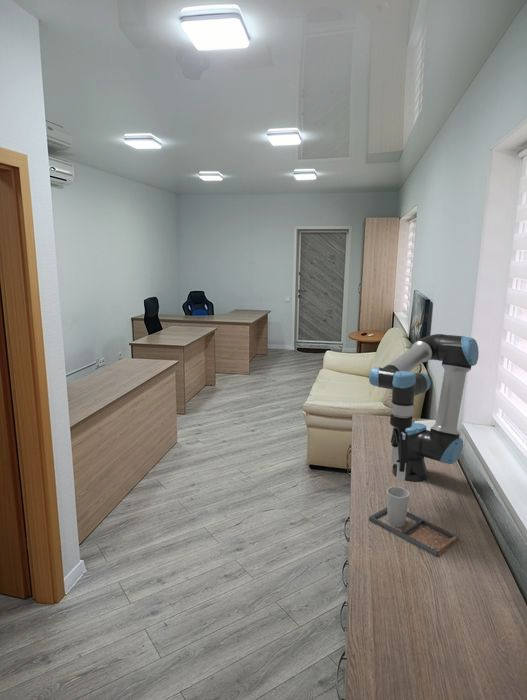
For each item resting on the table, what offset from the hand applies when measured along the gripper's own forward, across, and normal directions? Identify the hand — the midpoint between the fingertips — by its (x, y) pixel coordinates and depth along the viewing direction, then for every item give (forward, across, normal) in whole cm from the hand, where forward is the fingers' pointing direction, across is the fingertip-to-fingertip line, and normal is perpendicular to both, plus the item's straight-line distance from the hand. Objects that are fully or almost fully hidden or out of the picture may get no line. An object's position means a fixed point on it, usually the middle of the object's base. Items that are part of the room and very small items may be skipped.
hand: (397, 471), depth 162 cm
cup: (+20, +1, +1) cm, 20 cm away
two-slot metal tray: (+19, +6, +6) cm, 21 cm away
